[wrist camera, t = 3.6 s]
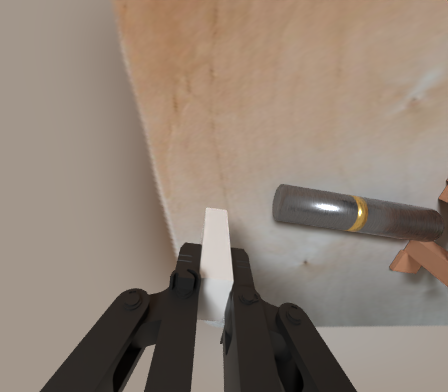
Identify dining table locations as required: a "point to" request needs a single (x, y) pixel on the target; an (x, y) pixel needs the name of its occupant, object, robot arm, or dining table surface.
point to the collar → (424, 256)
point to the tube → (356, 214)
